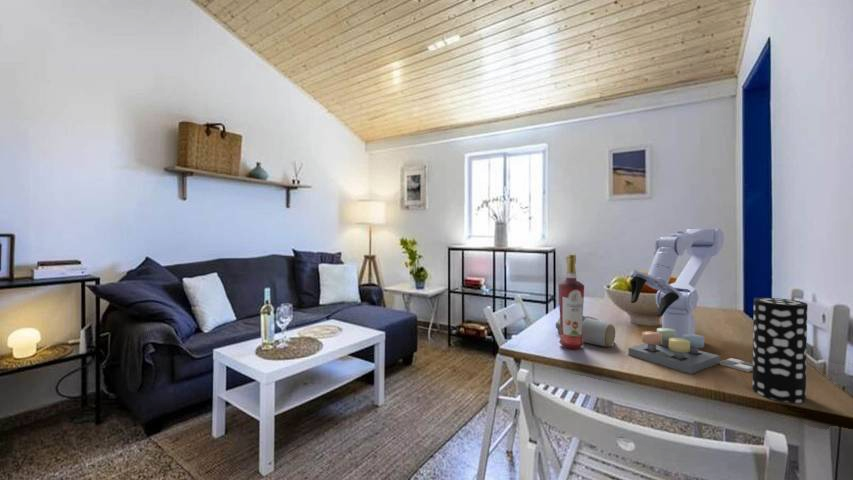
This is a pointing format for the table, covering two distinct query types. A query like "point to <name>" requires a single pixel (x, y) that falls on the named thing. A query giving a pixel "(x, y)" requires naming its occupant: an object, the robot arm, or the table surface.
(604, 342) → the grey cylinder
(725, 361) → the card
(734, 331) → the table surface
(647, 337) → the button
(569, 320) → the liquor
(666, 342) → the button
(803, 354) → the white-spotted black cylinder
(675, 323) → the robot arm
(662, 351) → the button console
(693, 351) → the button
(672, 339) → the button
